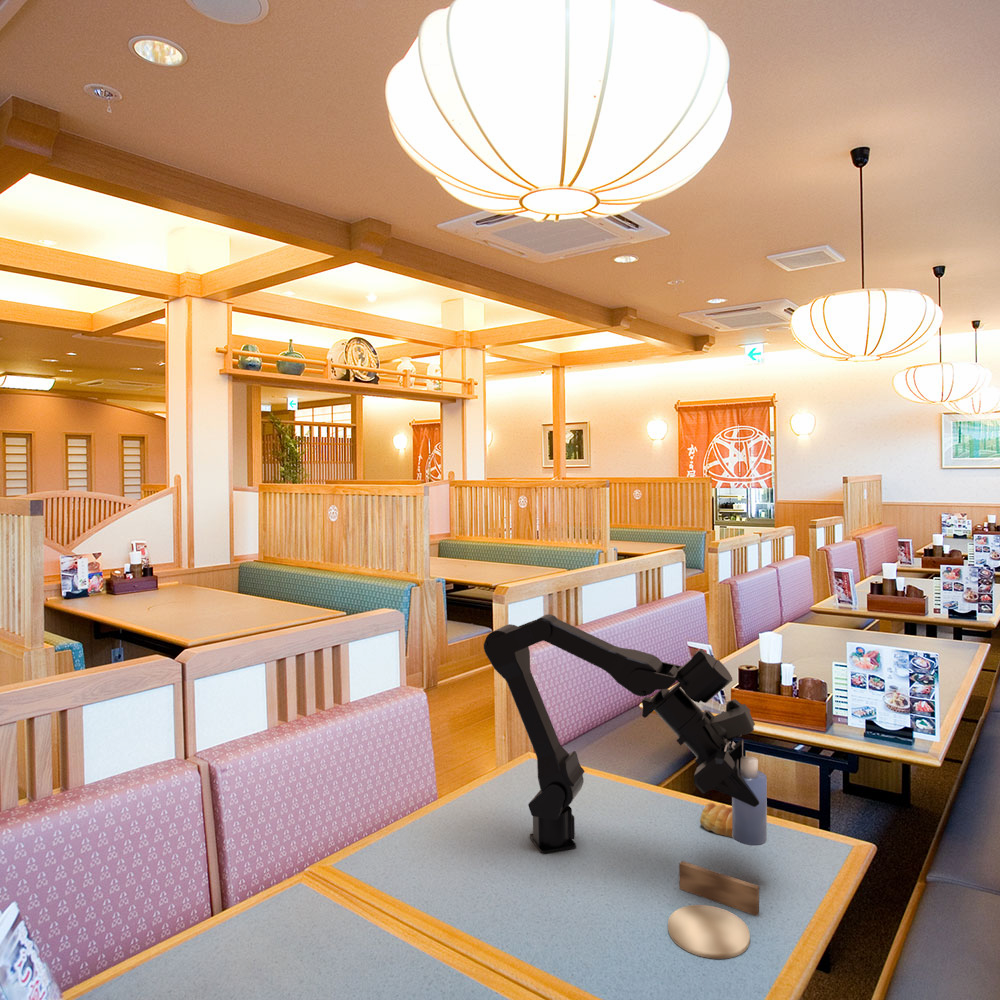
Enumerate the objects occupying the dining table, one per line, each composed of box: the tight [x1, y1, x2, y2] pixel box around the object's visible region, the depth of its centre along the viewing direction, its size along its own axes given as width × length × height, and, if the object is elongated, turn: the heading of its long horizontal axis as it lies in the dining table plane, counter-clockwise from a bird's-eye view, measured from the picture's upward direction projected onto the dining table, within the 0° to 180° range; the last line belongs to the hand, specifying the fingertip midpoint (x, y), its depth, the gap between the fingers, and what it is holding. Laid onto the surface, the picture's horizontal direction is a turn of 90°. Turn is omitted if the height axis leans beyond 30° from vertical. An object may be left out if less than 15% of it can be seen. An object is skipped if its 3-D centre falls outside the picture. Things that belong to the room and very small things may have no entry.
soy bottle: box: [731, 755, 768, 847], centre depth 116 cm, size 5×5×12 cm
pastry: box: [699, 802, 733, 838], centre depth 133 cm, size 9×7×4 cm
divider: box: [678, 860, 760, 917], centre depth 111 cm, size 12×1×4 cm, turn 52°
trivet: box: [667, 904, 751, 960], centre depth 103 cm, size 11×11×1 cm
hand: (758, 797), depth 115 cm, fingers closed on soy bottle, 5 cm apart
